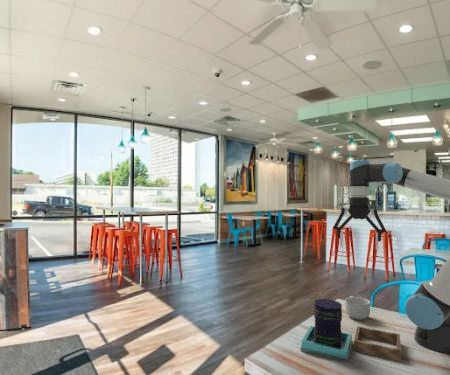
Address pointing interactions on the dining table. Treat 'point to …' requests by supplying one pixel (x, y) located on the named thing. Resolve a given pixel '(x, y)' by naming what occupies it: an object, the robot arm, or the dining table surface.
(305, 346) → the teal square tray
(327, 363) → the dining table surface
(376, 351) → the walnut holder
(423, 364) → the dining table surface
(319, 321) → the navy oil drum
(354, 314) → the teacup
